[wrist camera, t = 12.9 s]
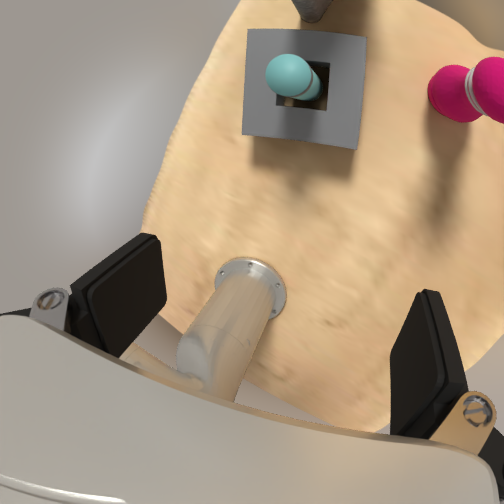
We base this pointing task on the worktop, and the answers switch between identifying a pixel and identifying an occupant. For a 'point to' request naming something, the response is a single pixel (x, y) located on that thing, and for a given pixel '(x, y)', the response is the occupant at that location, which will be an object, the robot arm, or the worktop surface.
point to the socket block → (302, 119)
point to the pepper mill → (469, 91)
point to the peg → (293, 78)
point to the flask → (311, 9)
